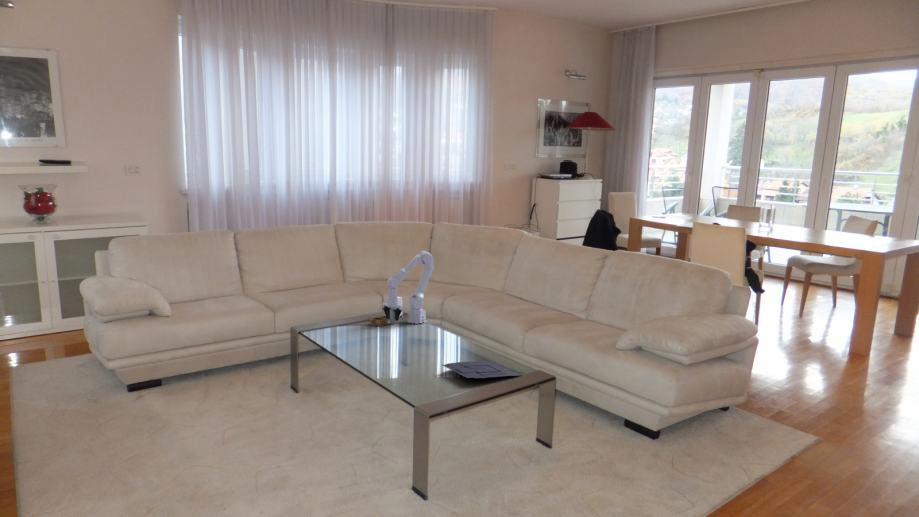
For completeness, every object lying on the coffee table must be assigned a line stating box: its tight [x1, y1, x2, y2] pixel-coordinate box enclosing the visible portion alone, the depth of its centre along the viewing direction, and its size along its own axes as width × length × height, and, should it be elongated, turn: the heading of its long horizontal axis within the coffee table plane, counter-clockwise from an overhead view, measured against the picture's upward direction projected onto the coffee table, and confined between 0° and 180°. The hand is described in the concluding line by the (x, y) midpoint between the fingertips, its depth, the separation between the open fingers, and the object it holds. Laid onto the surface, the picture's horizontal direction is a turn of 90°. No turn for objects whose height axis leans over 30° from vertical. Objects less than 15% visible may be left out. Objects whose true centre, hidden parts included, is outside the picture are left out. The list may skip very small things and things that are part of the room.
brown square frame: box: [368, 316, 388, 327], centre depth 350 cm, size 8×8×4 cm
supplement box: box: [386, 296, 403, 318], centre depth 370 cm, size 7×7×13 cm
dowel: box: [389, 309, 396, 325], centre depth 353 cm, size 3×3×9 cm
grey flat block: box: [441, 360, 522, 379], centre depth 267 cm, size 24×30×4 cm
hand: (392, 319), depth 353 cm, fingers open, 6 cm apart
